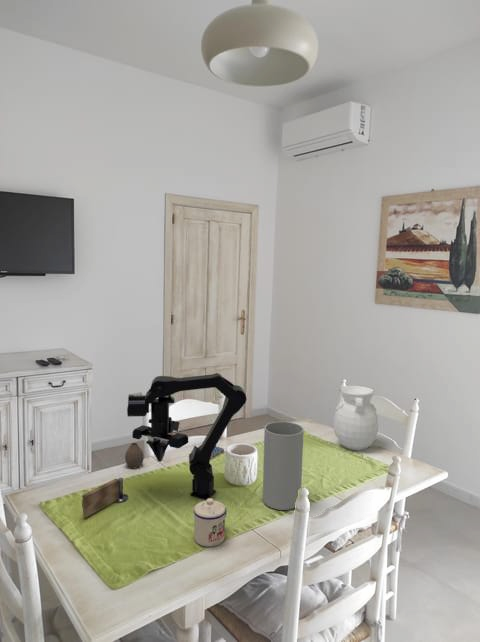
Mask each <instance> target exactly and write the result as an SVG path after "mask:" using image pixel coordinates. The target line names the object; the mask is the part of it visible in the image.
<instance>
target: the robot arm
mask: <svg viewBox="0 0 480 642" xmlns="http://www.w3.org/2000/svg"><path fill="white" fill-rule="evenodd" d="M211 388H212V389H213V388H215V389H216V390H218V391H219V392H220V393H221V394H222V395H223V396H225V397H224V401H223V405H222V408H221V410H220V412H219V413H218V415H217V416H216V419H215V420H214V422H213V424H212V426H211V427H210V429H209V431H208V433H207V434H206V435H205V438H204V440H203V441H202V443H201V444H200V445H199V446H198V447H197V445H193V448H192V450H193V451H192V450H191V451H192V452H190V453H189V454H188V464H189V472H190V473H191V475H192V477H193V479H192V485H191V488H192V489H191V490H192V492H191V493H190V496H192V497H194V498H195V497H196V498H200V499H203V500H207V499H209V498H211V497H212V496H213V495H214V494H215V493H216V492H217V489H215V476H214V473H213V467H212V464H211V463H210V462H211V460H210V458H211V454H212V451H213V450H214V448H215V446H216V447H217V444H218V443H219V441H220V440H221V438H222V435H223V434H224V433H225V430H226V428H227V427H228V425H229V423H230V421H231V420H232V418H233V416H235V415H236V414H237V413H238V412H240V410H242V408H243V407H244V405H246V402H247V400H248V399H247V395H246V393H245V390H244V389H243V387H242V386H240V385H238V384H237V385H235V384H233V383H232V382H231V381H230V380H228V379H227V378H225V377H224V376H223V375H222V374H221V373H219V372H218V373H217V372H216V373H213V374H203V375H193V376H185V377H174V376H167V375H158V376H156V377H154V378H153V379H152V381H151V385H150V388H149V389H148V391H147V392H146V393H145V395H144V394H143V395H135V394H130V395H128V398H127V400H128V402H127V408H126V409H127V410H126V412H127V413H126V414H127V417H128V418H129V417H146V416H147V415H148V414H149V413H150V418H149V419H148V424H150V426H148V425H143V424H142V425H140V426H138V427H136V428H134V429H133V431H132V432H131V434H132V435H131V436H132V438H133V439H136V440H140V439H141V438H143V436H144V437H147V440H146V441H145V444H147V445H148V446H149V447H150V449H151V450H152V453H153V455H154V456H155V458H156V459H157V462H160V463H161V462H162V461H163V458H164V457H165V454H166V451H167V449H168V447H170V448H174V449H181V448H183V447H184V446H185V445H187V444H189V436H188V435H187V434H185V433H180V432H179V428H180V427H179V426H180V421H176V420H172V417H171V416H170V404H175V397H173V396H172V395H174V394H176V393H180V392H185V391H186V392H187V391H191V390H193V391H194V390H203V389H204V390H205V389H211ZM174 431H175V432H177V433H175V434H172V433H173V432H174Z"/></svg>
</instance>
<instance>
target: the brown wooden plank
mask: <svg viewBox="0 0 480 642" xmlns="http://www.w3.org/2000/svg"><path fill="white" fill-rule="evenodd" d="M81 497H82V499H81V507H82V516H83V517H85V518H87V517H88V516H90V515H92V514H93V513H96V512H98V511H100V510H101V509H103V508H104V507H106V506H108V505H111V504H112V503H113V502H114V501H116V500H117V499H119V478H114V479H112V480H110V481H108V482H106V483H104V484H102V485H100V486H98V487H96V488H94V489H92V490H90V491H88V492H86V493H84V494H82V495H81ZM114 503H115V502H114Z"/></svg>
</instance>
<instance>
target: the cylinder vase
mask: <svg viewBox="0 0 480 642" xmlns="http://www.w3.org/2000/svg"><path fill="white" fill-rule="evenodd" d="M304 430H305V429H304V428H303V426H302V425H300V424H298V423H295V422H294V423H293V422H291V421H290V422H289V421H274V422H269V423H267V424H265V425H264V432H263V433H264V434H263V435H264V437H263V438H264V439H263V466H262V467H263V468H262V469H263V471H262V472H263V474H262V501H263V503H264V504H265V505H266V506H268V508H271V509H274V510H278V511H290V510H293V509H295V502H296V499H297V497H298V490H299V489H300V488H301V489H302V478H303V477H302V475H303V451H304V450H303V449H304Z"/></svg>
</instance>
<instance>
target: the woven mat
mask: <svg viewBox="0 0 480 642" xmlns="http://www.w3.org/2000/svg"><path fill="white" fill-rule="evenodd" d="M192 451H193V449H191V452H192ZM191 452H190V453H191ZM224 453H225V449H224V448H223V447H220V446H217V445H216V446H215V448H214V450H213V451H212V454H211V458H210V461H212V460H213V459H215V458H217V457H218V456H219V455H222V454H224Z"/></svg>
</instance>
